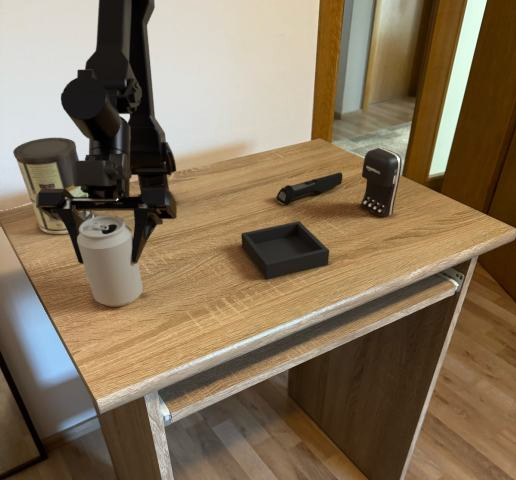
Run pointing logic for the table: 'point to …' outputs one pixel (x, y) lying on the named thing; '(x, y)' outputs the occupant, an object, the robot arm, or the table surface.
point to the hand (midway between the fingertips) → (107, 263)
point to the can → (109, 260)
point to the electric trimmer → (308, 188)
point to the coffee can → (49, 175)
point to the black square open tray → (284, 249)
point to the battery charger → (381, 180)
